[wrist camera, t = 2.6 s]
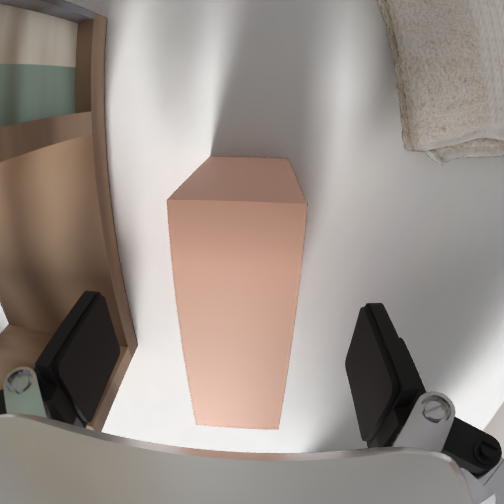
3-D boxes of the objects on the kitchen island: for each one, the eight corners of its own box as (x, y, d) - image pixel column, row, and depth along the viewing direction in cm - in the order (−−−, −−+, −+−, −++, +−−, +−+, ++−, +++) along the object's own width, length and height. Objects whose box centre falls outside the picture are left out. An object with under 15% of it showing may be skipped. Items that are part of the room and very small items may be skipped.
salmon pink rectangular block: (287, 158, 16) (307, 204, 9) (275, 328, 21) (278, 429, 14) (210, 155, 16) (166, 200, 9) (215, 325, 21) (196, 424, 14)
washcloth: (398, 162, 16) (423, 174, 13) (325, -102, 9) (334, -127, 6) (533, 150, 15) (561, 160, 12) (477, -74, 7) (499, -86, 4)
